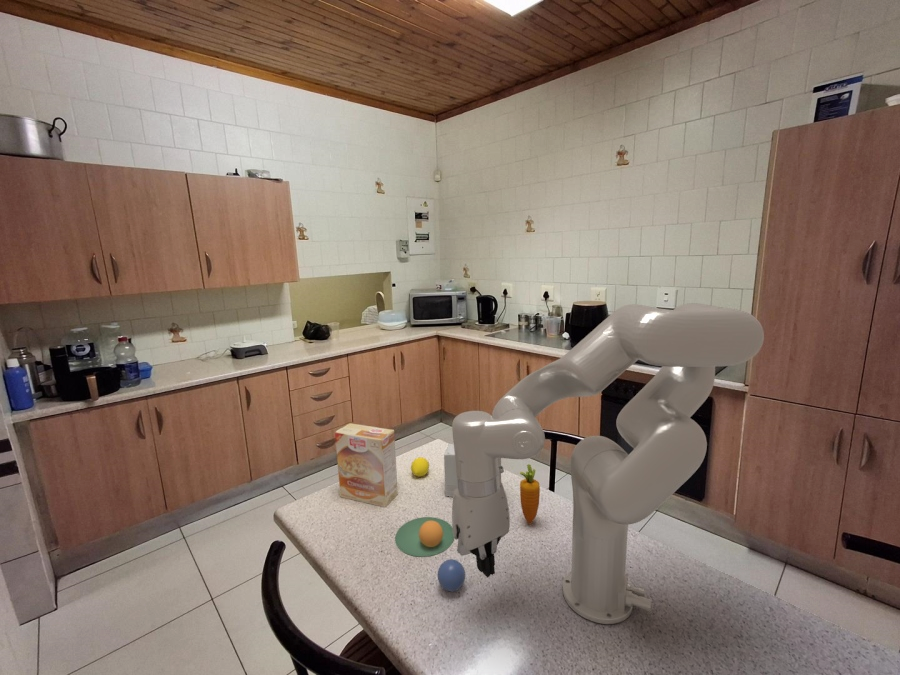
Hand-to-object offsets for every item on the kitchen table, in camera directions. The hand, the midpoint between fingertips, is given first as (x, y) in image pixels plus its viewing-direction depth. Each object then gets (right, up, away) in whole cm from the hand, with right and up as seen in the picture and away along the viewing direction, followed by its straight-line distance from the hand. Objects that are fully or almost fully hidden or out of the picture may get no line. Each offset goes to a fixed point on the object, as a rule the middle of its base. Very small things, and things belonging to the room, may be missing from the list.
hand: (486, 570), depth 76 cm
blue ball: (-6, -4, +5) cm, 9 cm away
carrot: (+13, -2, +24) cm, 28 cm away
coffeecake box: (-29, -1, +39) cm, 49 cm away
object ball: (-11, -1, +17) cm, 21 cm away
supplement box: (-4, 0, +40) cm, 40 cm away
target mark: (-13, -4, +21) cm, 25 cm away
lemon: (-16, +1, +49) cm, 52 cm away
